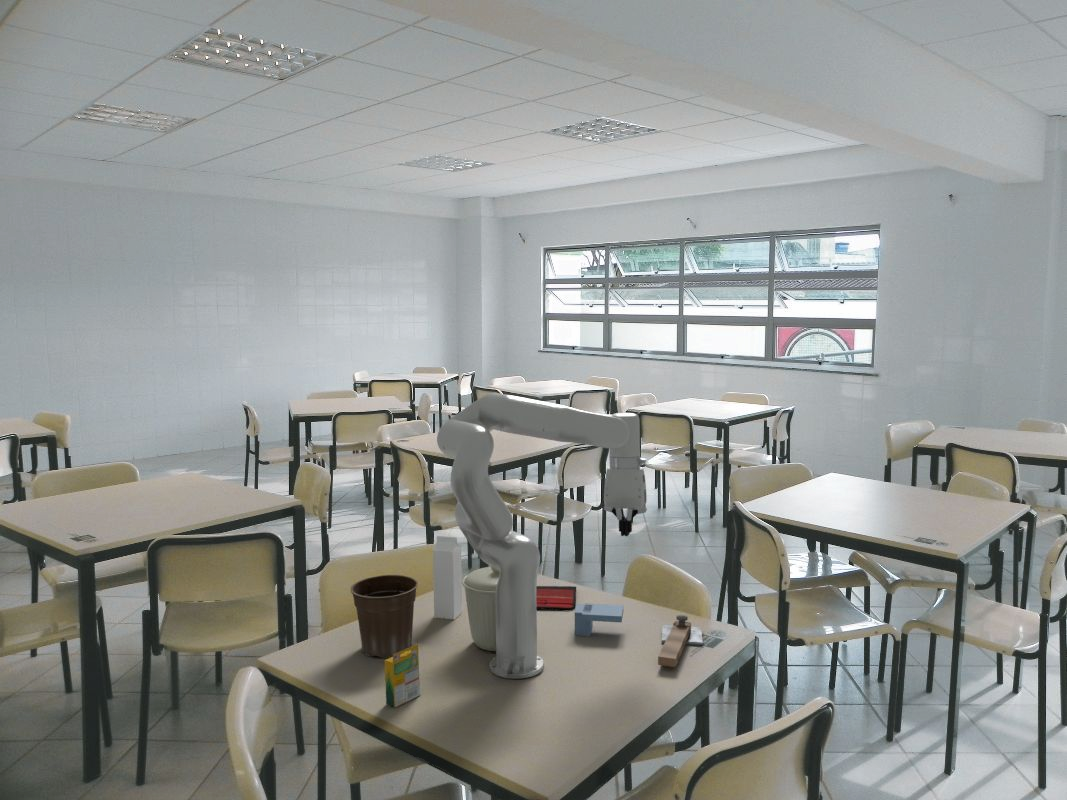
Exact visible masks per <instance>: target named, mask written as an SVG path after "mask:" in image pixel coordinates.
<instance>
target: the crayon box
mask: <svg viewBox="0 0 1067 800" xmlns="http://www.w3.org/2000/svg"><path fill="white" fill-rule="evenodd" d="M419 660H420V658H419V643H416V644H414V645H412V647H409V648H407V649H405V650H402V651H400V652H398V653H396V654H393V657H388V658H387V659H384V680H385V700H386V705H387V704H388V705H387V706H389V705H390V707H391V706H392V708H394V709H396V708H397V707H399V706H401V705H403V704H405V703H407V702H410V701H411V700H414V699H415V698H417V697H420V695H421V684H420V682H421V681H420V663H419V662H420V661H419ZM395 707H396V708H395Z"/></svg>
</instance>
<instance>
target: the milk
mask: <svg viewBox="0 0 1067 800" xmlns="http://www.w3.org/2000/svg"><path fill="white" fill-rule="evenodd" d="M462 565H463V564H462V545H461V544H459V543H458V537H456V536H445V535H444V536H442V535H437V536H436V541H435V545H434V546H433V549H432V572H433V573H432V574H433V575H432V577H433V578H432V579H433V582H432V583H433V614H434V616H433V617H437V618H436V619H443V618H445V619H444V620H452V619H453V620H456V619H457V618H458V617H459V616H460V615H461V614H462V613H463V585H462V579H463V578H462V577H463V574H462ZM453 620H452V621H453Z"/></svg>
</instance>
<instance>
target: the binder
mask: <svg viewBox="0 0 1067 800" xmlns="http://www.w3.org/2000/svg"><path fill="white" fill-rule="evenodd" d="M536 602H537V610H552V609H557V610H556V611H563V610H571V611H573V609H574V610H576V607H577V586H573V585H572V586H571V585H569V586H561V585H558V586H557V585H546V586H545V585H537V586H536Z"/></svg>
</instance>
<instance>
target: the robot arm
mask: <svg viewBox="0 0 1067 800" xmlns="http://www.w3.org/2000/svg"><path fill="white" fill-rule="evenodd" d="M493 430H494V431H499V432H501V433H502V432H504V433H506V434H507V433H508V434H513V435H518V436H523V437H524V436H525V437H526V436H527V437H532V438H538V439H542V440H548V441H555V442H561V443H572V444H581V445H587V446H594V447H599V448H604V449H609V450H608V451H609V452H608V453H609V455H608V456H609V457H608V459H609V466H607V468H606V473H605V478H604V492H603V501H604V502H603V503H604V506H603V510H604V511H606V512H609V513H612V514H613V515H614V516H615V518H616V519H617V520H618V531H619V532H620V537H624V536H625V537H629V535H630V534H631V533H632V531H633V520H632V519H633V518H634V517H636V516H637V515H641V514H645V513H647V510H648V508H647V502H648V501H647V500H648V499H647V498H648V497H647V484H646V483H647V482H646V474H645V469H644V467H642V466H641V465H646V462H647V460H646V458H642V457H641V453H640V452H641V448H640V447H641V443H640V441H641V440H640V439H641V438H640V437H641V436H640V435H641V433H640V431H641V429H640V416H639V415H637V413H633V412H616V413H613V414H600V413H594V412H590V411H585V410H582V409H581V410H580V409H577V408H573V407H571V406H570V407H569V406H566V405H562V404H559V403H553V402H548V401H544V400H538V399H533V398H529V397H528V398H527V397H524V396H523V397H522V396H517V395H511V394H505V393H498V392H491V393H487V394H486V395H483V396H481V397H480V398H478V399H477V400H475V401H473V402H472V403H470V404H469V405H468V406H467V407H464V409H462V410H460V411H459V412H458V413H456V414H455V415H453V416H452V417H450V418H449V419H448V420H446V421H445V422H444V423H443V424H442V425H441V427H440V428H439V430H438V432H437V435H436V443H437V447H438V449H439V450H440V452H441V453H442V454H444V455H445V456H447V457H450V458H453V459H454V460H453V462H452V463H453V464H452V468H451V472H450V487H451V491H452V493H453V494H454V497H455V498H456V500H457V503H456V505H455V510H454V516H455V517H454V518H455V521H456V524H457V526H458V528H459V530H460V531H461V533H462V535H464V537H465V539H466V540H467V541H468V543H469V544H470V546H471V547H472V549H473V551H474V552H475V553H476V554H477V556H478V558H479V559H480V560H482V562H484V563H485V564H487V565H488V566H489V567H491V566H492V567H494V568H496V569H497V570H499V572H500V575H499V579H498V582H497V585H496V590H495V615H496V651H495V656H494V657H493V658H492V659H491V660H490V661H489V670H490V672H491V673H493V675H496V676H498V677H500V678H504V679H509V680H510V679H511V680H513V679H514V680H517V679H519V680H520V679H527V678H531V677H534V676H537V675H539V674H540V673H542V671H543V670H544V668H545V662H544V659H543V658H542V657H540V656H539V655H538V628H537V627H538V625H537V623H538V621H537V620H538V619H537V617H538V616H537V615H538V613H537V610H538V609H537V602H536V586H538V583H537V582H538V576H539V575H538V574H539V568H540V563H541V553H540V550H539V547H538V546H537V544H536V543H535V542H534V540H532V539H530V538H529V537H528V536H526V535H524V534H522V533H519V532H517V531H514V530H513V526H514V519H513V515H512V513H511V510H510V508H509V507H508V506H507V504H506V503H505V501H504V499H503V498H502V496H501V495H500V494H499V492H498V490H497V489H496V488H495V485H494V484H493V482H492V480H491V477H490V475H489V464H490V461H491V458H492V455H493V452H494V446H495V445H494V444H495V443H494V438H493V434H492V433H491V432H492V431H493ZM624 509H627V510H626V516H625V512H624Z"/></svg>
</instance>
